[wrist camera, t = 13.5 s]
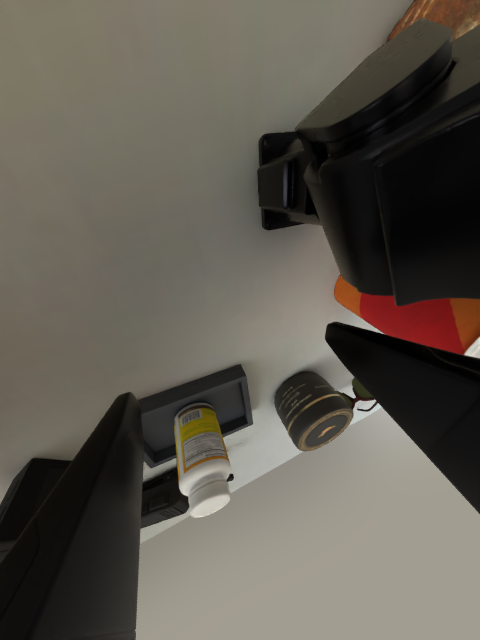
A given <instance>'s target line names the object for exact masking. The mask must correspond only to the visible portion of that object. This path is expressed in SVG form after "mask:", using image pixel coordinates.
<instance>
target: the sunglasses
mask: <svg viewBox="0 0 480 640" xmlns="http://www.w3.org/2000/svg"><path fill="white" fill-rule="evenodd" d="M352 386H353V388H352V389H353V392H354V394H355V396H356V398H354V399H353V398H351V397H349V396H348V395H346V394H344V393H341V392H339V391H336V392H337V393H338V394H339V395H341V396H342V397H343V398H344V400H345V401H346V402H347V403H348V404H349V406H350V407H351V408H352V410H353V408H354V406H355V403H356V402H358V401H359V400H361V401H370V400H374V398H373V397H372V395H371V394H370V393H369V392H368V391H367V390H366V389H365V388H364V387H363V386H362V385H361V383H360V382H359V381H358V380H357V379H356V378H354V379H353V380H352ZM377 403H378V402H377V401H376V403H375V404H374V405H373V406H372V407H371V408H370V409H368V410H363V409H357V410H359V411H370V410H371V409H373V408H374V407H375V406H376V405H377Z"/></svg>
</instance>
